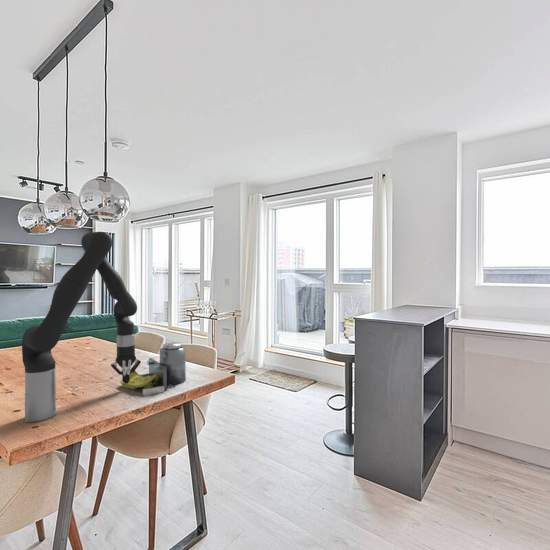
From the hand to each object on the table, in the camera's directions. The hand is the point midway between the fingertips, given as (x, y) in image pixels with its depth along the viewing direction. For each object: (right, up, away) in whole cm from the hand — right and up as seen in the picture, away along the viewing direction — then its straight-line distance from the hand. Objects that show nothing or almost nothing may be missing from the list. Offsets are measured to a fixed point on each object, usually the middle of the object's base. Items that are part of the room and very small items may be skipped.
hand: (126, 382), depth 153 cm
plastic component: (+5, -4, +4) cm, 7 cm away
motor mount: (+13, -3, +9) cm, 16 cm away
